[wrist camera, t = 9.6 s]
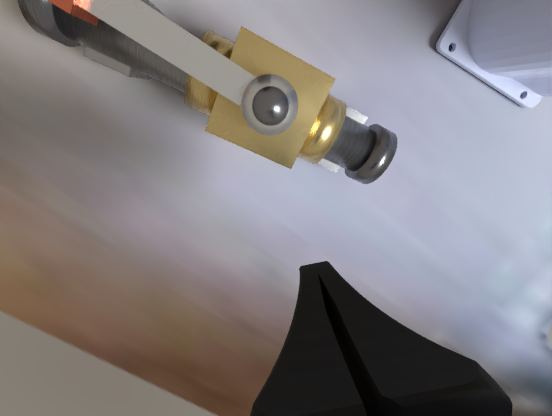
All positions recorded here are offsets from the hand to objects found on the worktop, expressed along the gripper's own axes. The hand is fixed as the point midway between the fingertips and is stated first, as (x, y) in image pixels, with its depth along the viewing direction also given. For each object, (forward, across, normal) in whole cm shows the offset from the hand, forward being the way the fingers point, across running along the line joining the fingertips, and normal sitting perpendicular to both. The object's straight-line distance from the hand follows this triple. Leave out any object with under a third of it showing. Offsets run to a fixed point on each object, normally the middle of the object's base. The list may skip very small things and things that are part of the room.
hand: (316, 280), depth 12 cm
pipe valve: (+10, +2, -9) cm, 14 cm away
